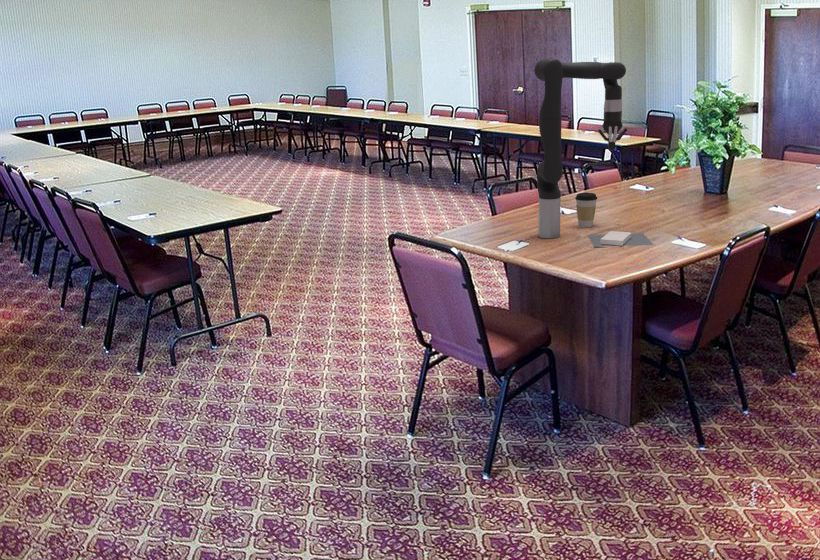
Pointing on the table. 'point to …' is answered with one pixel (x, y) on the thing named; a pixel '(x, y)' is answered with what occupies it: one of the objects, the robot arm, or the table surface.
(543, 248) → the table surface
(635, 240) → the mat
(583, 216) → the coffee cup
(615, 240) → the tile
